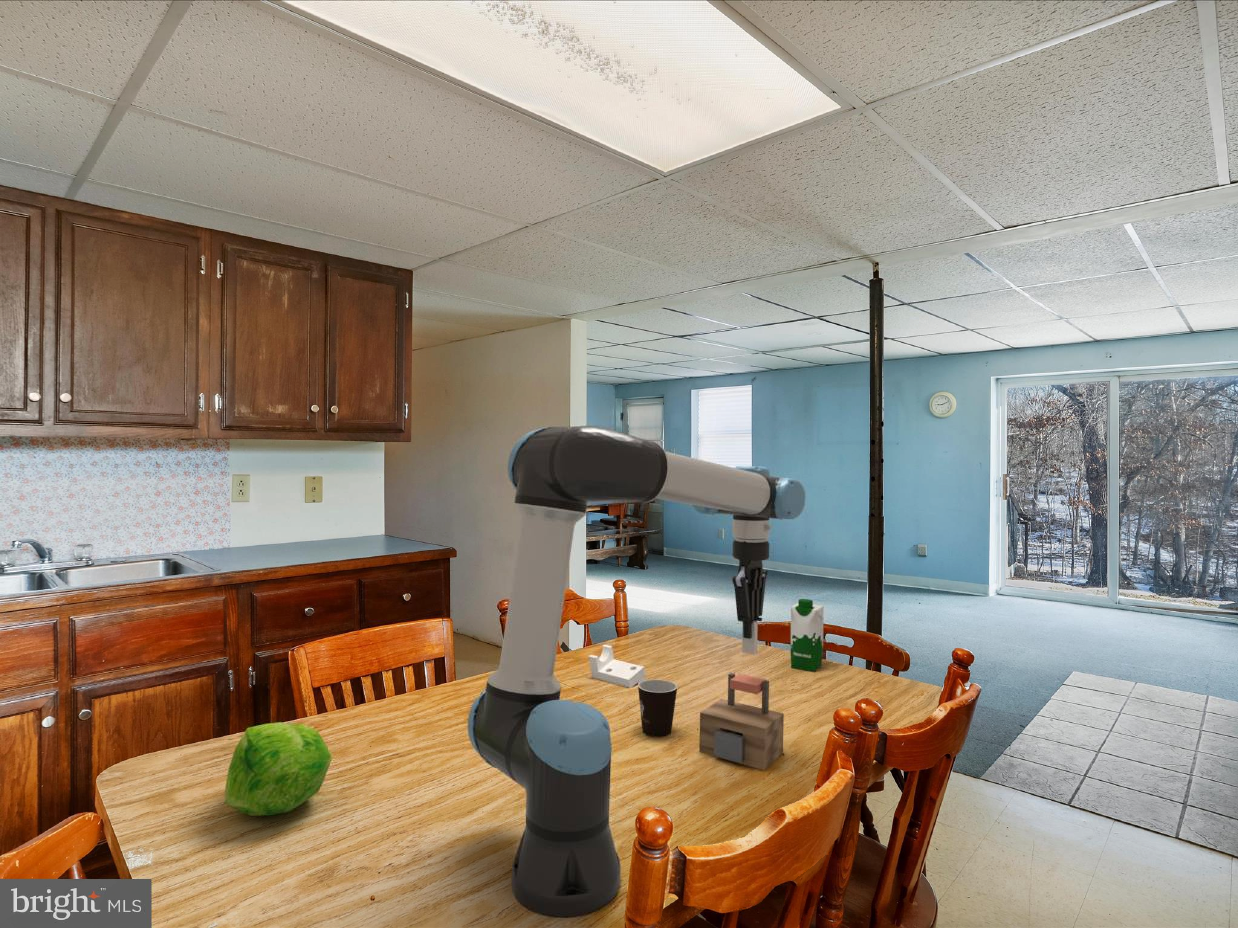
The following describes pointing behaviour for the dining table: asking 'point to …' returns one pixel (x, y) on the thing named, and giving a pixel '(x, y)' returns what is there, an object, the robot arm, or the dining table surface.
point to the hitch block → (745, 727)
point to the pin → (729, 745)
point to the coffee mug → (657, 706)
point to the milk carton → (806, 635)
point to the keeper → (747, 683)
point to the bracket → (615, 669)
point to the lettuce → (276, 768)
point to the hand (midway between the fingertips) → (749, 652)
